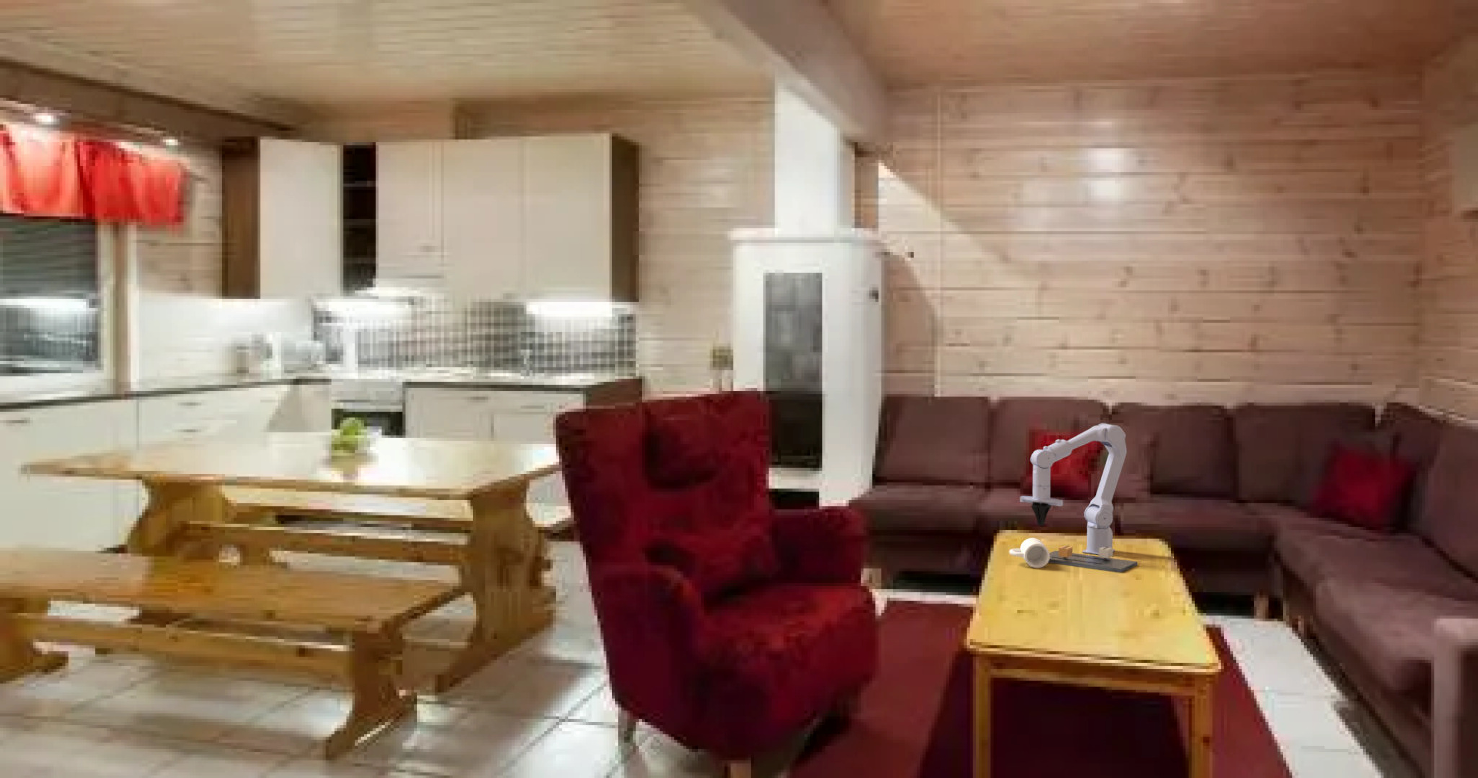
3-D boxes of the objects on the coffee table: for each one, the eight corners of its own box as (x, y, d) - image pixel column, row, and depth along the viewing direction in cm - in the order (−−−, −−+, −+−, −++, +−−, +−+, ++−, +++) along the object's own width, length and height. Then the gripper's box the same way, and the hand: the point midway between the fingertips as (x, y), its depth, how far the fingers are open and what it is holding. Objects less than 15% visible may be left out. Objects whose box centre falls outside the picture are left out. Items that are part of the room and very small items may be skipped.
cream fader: (1103, 557, 374) (1103, 546, 374) (1112, 558, 372) (1112, 547, 372) (1098, 559, 371) (1099, 548, 371) (1107, 560, 369) (1108, 549, 369)
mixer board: (1055, 554, 387) (1055, 550, 386) (1137, 565, 369) (1137, 561, 369) (1037, 561, 375) (1037, 557, 375) (1120, 572, 358) (1121, 568, 358)
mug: (1044, 562, 375) (1044, 538, 374) (1049, 568, 365) (1050, 543, 364) (1007, 561, 376) (1007, 537, 375) (1011, 567, 366) (1011, 543, 365)
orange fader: (1063, 556, 376) (1063, 545, 375) (1072, 557, 374) (1072, 546, 373) (1058, 558, 372) (1058, 547, 372) (1067, 559, 371) (1067, 548, 370)
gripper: (1016, 484, 387) (1015, 524, 388) (1056, 488, 378) (1056, 529, 378) (1025, 482, 392) (1024, 521, 393) (1065, 486, 383) (1065, 526, 384)
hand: (1040, 525), depth 386 cm, fingers closed
